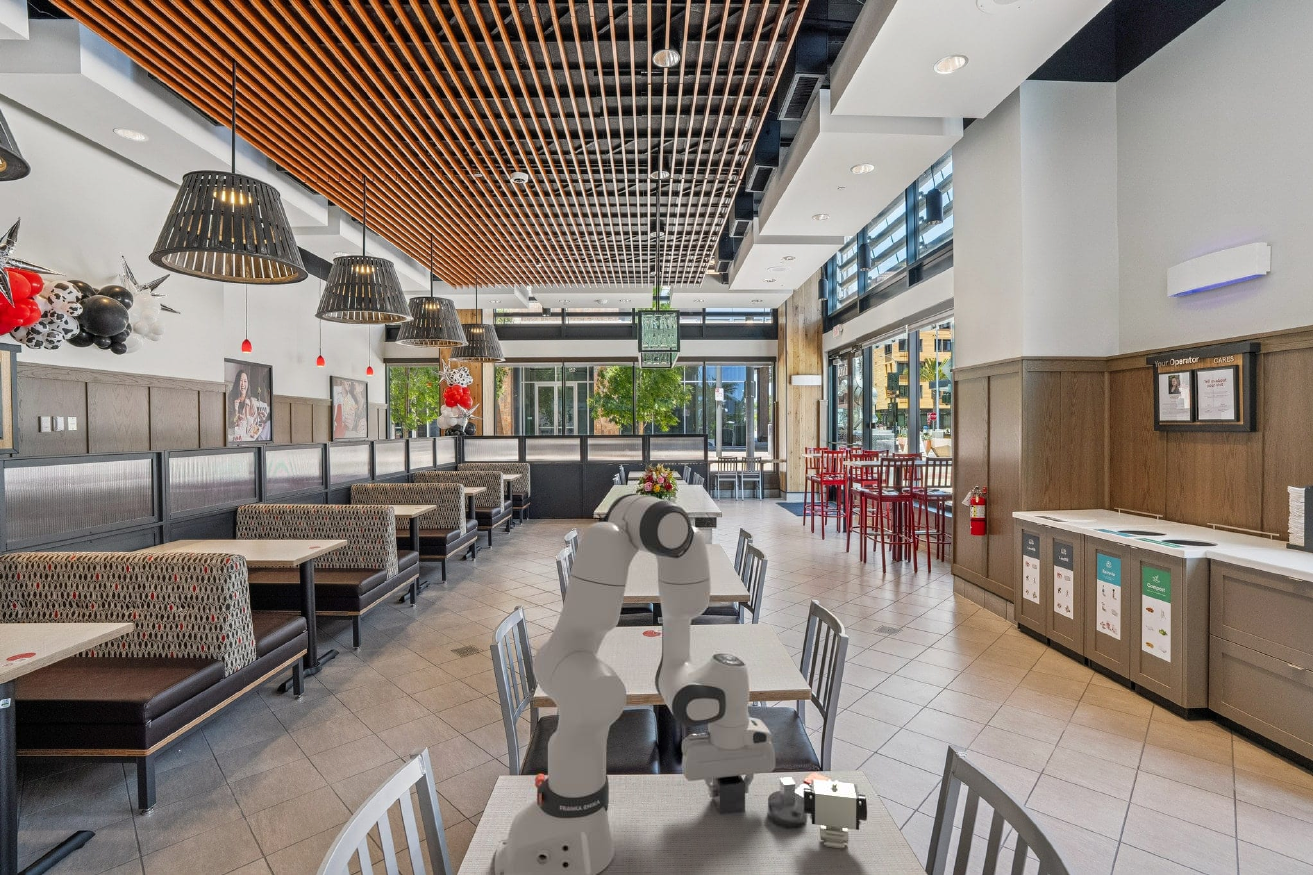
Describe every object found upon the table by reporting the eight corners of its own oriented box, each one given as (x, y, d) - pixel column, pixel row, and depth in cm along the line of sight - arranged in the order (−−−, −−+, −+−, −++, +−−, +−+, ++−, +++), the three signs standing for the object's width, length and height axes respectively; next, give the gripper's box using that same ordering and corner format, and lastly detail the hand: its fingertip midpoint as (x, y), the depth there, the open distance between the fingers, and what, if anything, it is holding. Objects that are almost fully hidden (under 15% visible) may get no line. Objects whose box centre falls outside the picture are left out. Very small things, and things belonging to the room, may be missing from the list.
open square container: (719, 814, 129) (719, 786, 129) (712, 798, 134) (712, 771, 134) (745, 811, 130) (745, 783, 130) (736, 795, 135) (736, 768, 135)
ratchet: (793, 834, 123) (793, 797, 122) (760, 816, 128) (760, 781, 128) (837, 795, 135) (837, 761, 135) (805, 780, 141) (805, 748, 141)
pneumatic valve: (866, 855, 117) (867, 793, 116) (803, 846, 119) (804, 786, 119) (863, 836, 122) (863, 777, 122) (803, 828, 124) (803, 770, 124)
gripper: (685, 742, 127) (685, 808, 127) (778, 733, 130) (777, 797, 131) (678, 727, 133) (678, 790, 133) (767, 719, 137) (767, 780, 137)
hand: (728, 793), depth 132 cm, fingers closed on open square container, 6 cm apart
